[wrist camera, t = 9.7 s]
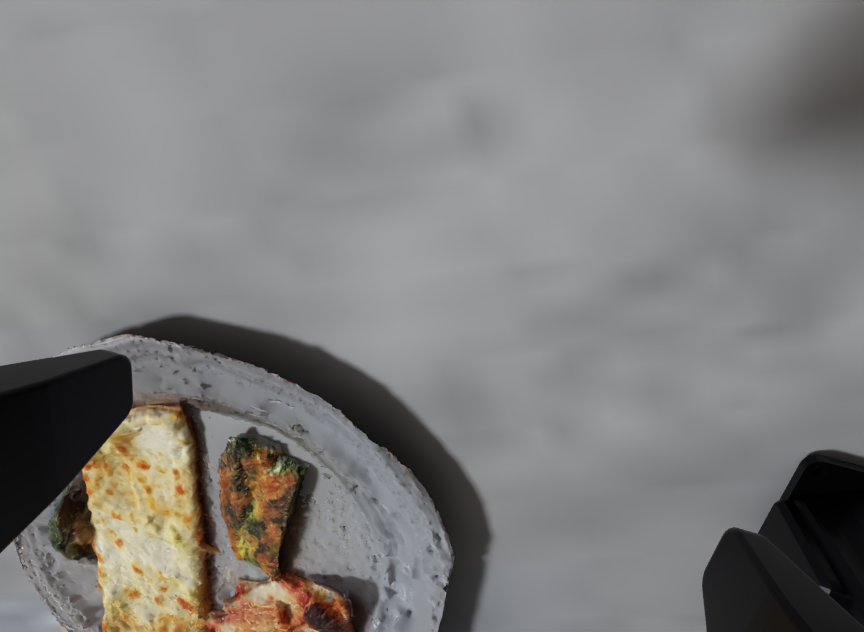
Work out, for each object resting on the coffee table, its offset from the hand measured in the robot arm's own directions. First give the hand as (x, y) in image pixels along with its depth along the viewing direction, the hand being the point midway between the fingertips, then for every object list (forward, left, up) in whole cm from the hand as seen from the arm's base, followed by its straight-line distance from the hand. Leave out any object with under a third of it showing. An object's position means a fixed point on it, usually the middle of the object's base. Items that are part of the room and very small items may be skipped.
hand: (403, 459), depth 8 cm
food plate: (+10, +19, -14) cm, 25 cm away
